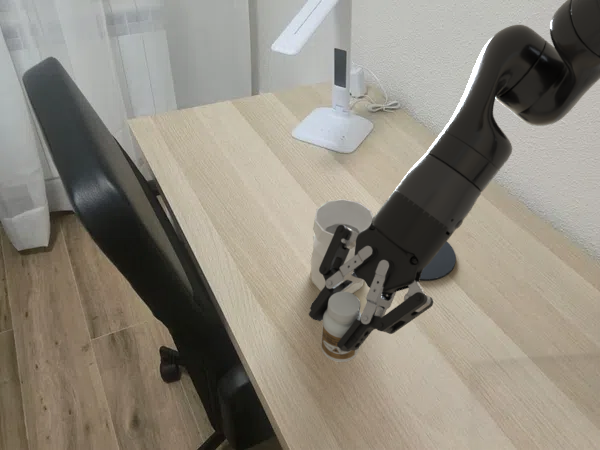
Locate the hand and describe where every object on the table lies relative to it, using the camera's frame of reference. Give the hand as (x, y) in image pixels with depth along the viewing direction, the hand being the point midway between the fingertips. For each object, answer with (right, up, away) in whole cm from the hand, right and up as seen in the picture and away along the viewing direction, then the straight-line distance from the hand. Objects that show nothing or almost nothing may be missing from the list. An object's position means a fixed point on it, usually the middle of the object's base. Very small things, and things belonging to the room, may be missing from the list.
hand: (328, 332), depth 60 cm
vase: (+3, +4, +27) cm, 27 cm away
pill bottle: (+1, -3, +4) cm, 5 cm away
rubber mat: (+16, +7, +31) cm, 35 cm away
